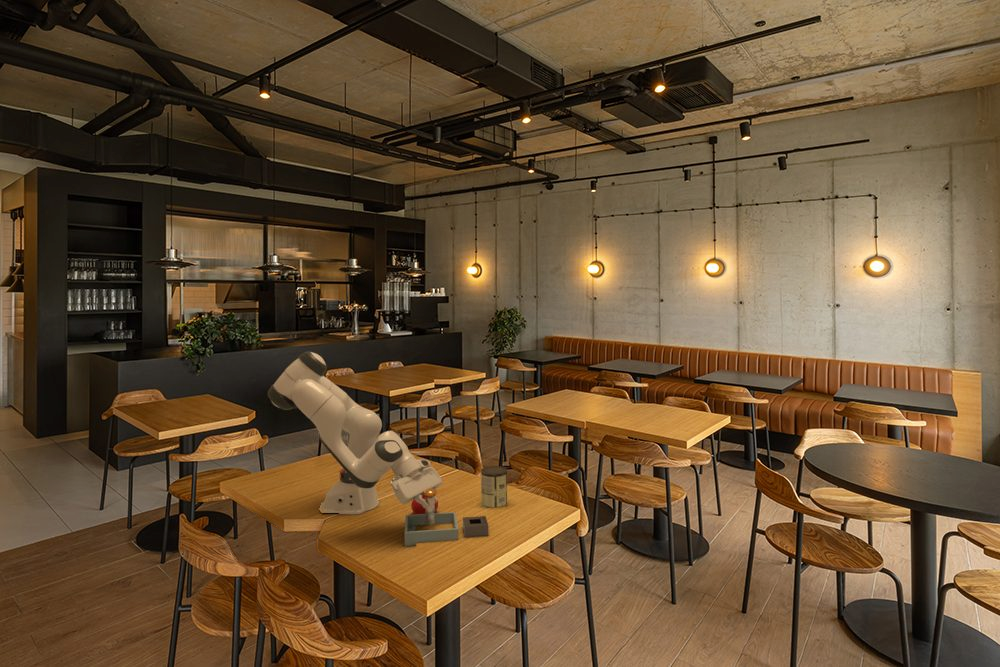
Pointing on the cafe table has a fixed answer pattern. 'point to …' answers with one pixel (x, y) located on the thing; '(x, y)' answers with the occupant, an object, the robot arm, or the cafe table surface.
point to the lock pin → (431, 508)
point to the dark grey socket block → (475, 526)
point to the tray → (429, 535)
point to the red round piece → (419, 508)
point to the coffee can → (494, 486)
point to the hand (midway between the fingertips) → (431, 504)
